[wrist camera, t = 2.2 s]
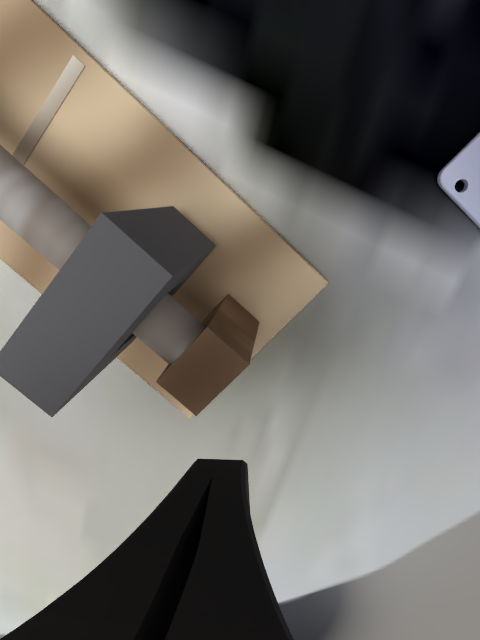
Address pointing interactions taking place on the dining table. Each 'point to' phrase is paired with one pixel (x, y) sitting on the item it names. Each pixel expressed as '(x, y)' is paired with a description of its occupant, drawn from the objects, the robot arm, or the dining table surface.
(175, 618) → the robot arm
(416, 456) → the dining table surface
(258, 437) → the dining table surface
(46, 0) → the dining table surface
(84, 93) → the pipe stand
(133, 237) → the charcoal rectangular prism
